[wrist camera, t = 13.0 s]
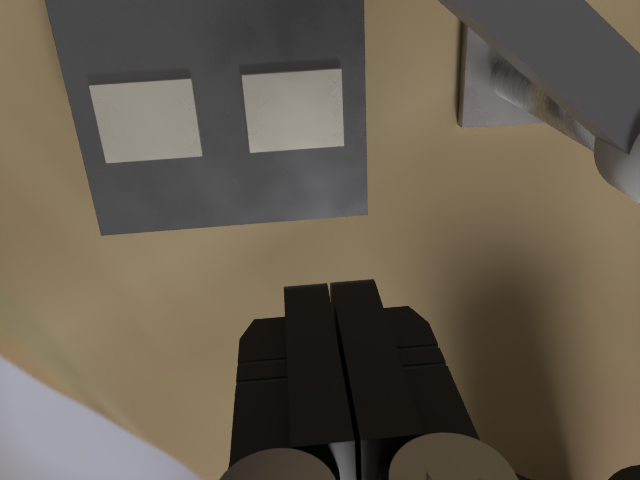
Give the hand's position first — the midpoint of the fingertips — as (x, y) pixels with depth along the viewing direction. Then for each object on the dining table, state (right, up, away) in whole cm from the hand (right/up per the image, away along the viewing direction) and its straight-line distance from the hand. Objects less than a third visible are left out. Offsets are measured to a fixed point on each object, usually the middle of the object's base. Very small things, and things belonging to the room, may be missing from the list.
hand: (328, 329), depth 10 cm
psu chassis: (-5, +9, +19) cm, 21 cm away
